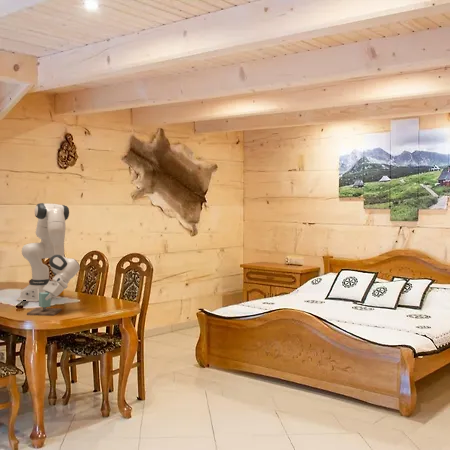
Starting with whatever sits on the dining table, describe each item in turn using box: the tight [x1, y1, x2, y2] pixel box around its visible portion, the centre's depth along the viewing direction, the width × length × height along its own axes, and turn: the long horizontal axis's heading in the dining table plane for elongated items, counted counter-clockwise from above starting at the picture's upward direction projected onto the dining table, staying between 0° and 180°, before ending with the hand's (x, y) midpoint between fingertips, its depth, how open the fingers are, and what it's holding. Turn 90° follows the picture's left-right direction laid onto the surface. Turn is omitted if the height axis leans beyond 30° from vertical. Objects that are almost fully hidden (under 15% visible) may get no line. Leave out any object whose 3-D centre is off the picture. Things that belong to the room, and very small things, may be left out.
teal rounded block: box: [38, 292, 52, 308], centre depth 366 cm, size 5×6×8 cm
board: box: [26, 307, 63, 317], centre depth 366 cm, size 16×16×6 cm
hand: (43, 298), depth 365 cm, fingers closed on teal rounded block, 6 cm apart
